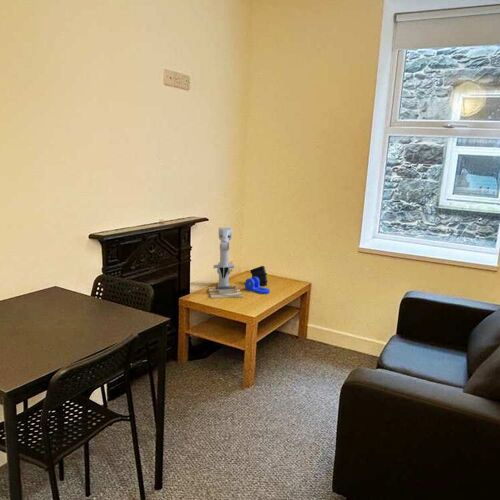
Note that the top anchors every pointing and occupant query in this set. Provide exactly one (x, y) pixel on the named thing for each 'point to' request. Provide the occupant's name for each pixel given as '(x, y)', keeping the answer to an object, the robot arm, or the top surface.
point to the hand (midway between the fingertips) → (223, 277)
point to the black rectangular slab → (260, 275)
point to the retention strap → (225, 287)
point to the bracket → (255, 286)
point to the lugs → (233, 289)
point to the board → (217, 295)
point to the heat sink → (225, 290)
